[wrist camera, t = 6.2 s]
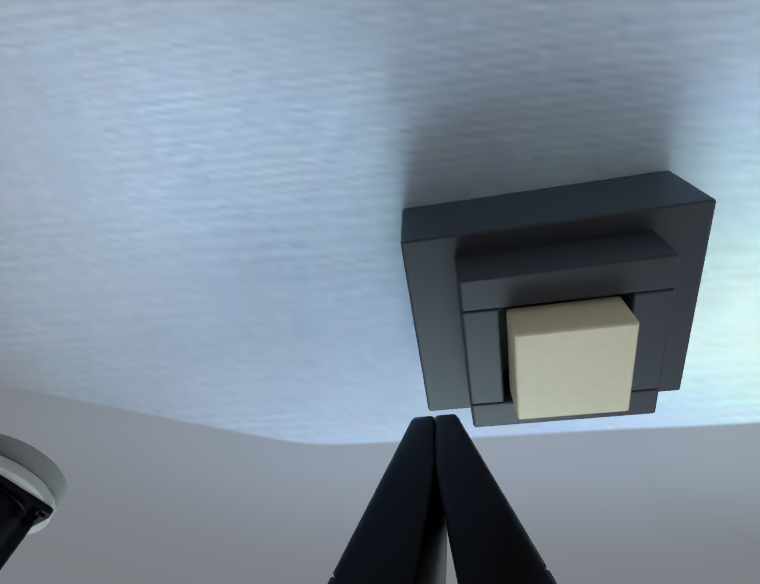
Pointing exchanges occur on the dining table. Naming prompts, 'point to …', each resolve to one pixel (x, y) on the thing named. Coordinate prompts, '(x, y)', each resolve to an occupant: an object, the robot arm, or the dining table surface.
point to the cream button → (571, 357)
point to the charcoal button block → (553, 280)
